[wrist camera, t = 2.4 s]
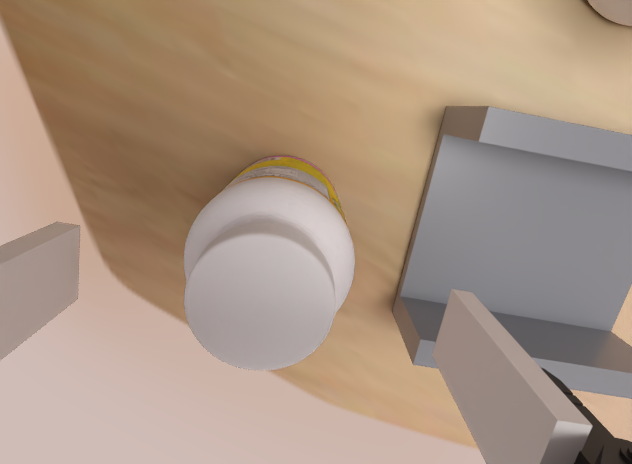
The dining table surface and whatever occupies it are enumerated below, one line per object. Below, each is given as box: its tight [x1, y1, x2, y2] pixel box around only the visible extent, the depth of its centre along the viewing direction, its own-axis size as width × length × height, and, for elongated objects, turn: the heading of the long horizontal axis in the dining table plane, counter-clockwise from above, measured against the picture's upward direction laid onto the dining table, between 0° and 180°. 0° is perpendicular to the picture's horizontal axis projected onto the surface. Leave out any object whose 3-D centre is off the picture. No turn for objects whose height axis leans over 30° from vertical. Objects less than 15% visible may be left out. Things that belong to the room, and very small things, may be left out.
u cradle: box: [392, 106, 632, 399], centre depth 23 cm, size 13×14×6 cm
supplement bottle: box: [184, 156, 355, 371], centre depth 19 cm, size 7×7×13 cm
